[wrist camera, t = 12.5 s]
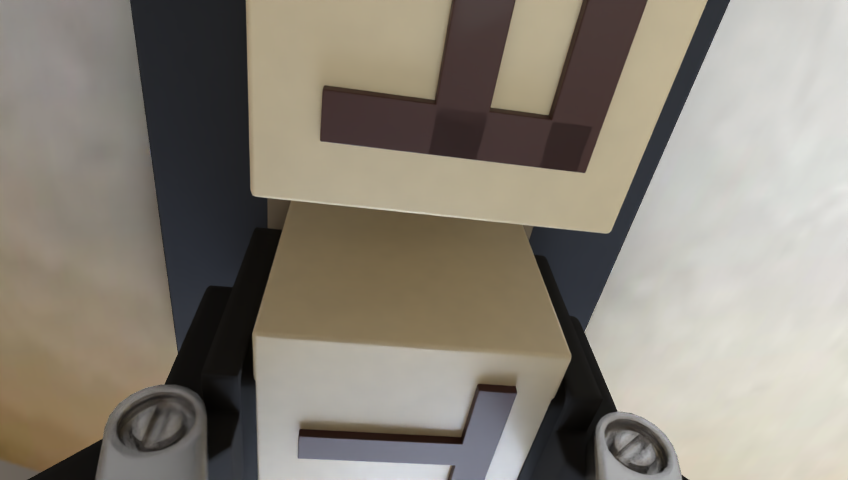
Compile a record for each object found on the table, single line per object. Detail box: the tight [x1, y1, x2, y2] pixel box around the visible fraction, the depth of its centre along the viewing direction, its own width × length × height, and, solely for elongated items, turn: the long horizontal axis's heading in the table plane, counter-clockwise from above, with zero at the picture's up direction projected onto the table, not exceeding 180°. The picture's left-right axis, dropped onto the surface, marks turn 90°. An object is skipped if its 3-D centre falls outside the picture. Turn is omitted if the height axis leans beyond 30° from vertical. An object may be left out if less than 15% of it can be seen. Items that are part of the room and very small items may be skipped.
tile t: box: [252, 200, 571, 480], centre depth 11 cm, size 5×5×4 cm
